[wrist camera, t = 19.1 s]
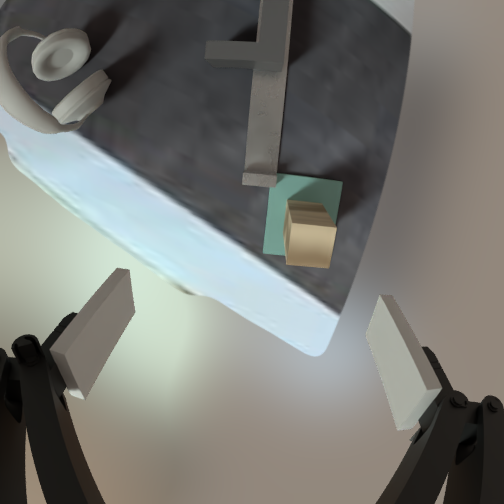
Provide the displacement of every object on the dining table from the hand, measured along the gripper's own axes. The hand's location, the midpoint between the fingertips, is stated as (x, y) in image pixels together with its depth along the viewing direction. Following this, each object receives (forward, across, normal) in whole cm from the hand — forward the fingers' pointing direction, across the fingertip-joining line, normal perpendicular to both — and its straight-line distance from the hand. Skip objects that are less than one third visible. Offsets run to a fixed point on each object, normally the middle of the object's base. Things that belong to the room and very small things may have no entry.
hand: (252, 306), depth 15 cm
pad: (+29, +6, -4) cm, 30 cm away
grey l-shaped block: (+28, -3, +24) cm, 37 cm away
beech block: (+28, +6, -4) cm, 29 cm away
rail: (+29, 0, +18) cm, 34 cm away
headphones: (+29, -28, +16) cm, 43 cm away
